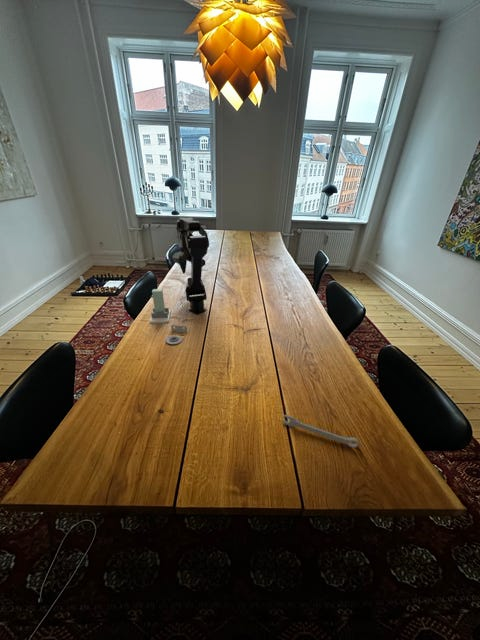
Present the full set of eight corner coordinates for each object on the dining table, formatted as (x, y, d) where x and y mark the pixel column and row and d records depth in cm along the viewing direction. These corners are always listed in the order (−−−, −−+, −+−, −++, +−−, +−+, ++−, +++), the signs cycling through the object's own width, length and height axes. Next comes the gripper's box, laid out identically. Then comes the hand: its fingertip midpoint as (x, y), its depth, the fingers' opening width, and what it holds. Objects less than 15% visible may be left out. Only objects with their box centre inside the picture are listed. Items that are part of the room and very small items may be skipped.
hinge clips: (170, 311, 123) (170, 305, 121) (168, 322, 115) (167, 315, 113) (153, 312, 122) (152, 305, 120) (150, 323, 113) (149, 316, 112)
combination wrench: (360, 437, 64) (283, 411, 70) (360, 442, 63) (282, 414, 69) (356, 446, 66) (281, 420, 72) (356, 451, 65) (280, 423, 71)
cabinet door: (165, 313, 119) (162, 289, 113) (164, 316, 117) (161, 291, 111) (154, 314, 118) (150, 289, 112) (153, 316, 116) (149, 291, 110)
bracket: (163, 345, 101) (162, 337, 99) (172, 331, 109) (171, 324, 107) (179, 346, 100) (178, 339, 98) (186, 332, 109) (186, 325, 107)
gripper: (162, 244, 123) (165, 274, 131) (187, 252, 113) (189, 285, 121) (180, 240, 131) (183, 269, 139) (205, 247, 121) (206, 278, 129)
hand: (189, 275), depth 132 cm, fingers open, 9 cm apart
